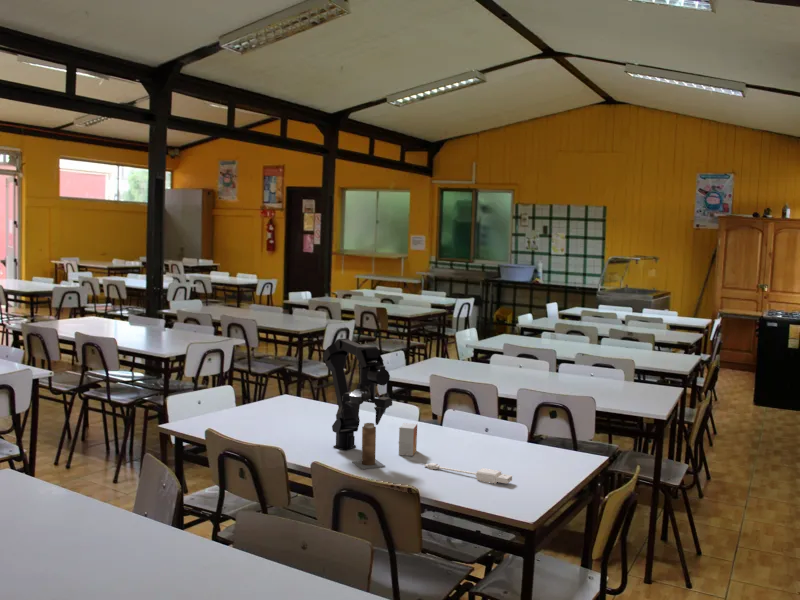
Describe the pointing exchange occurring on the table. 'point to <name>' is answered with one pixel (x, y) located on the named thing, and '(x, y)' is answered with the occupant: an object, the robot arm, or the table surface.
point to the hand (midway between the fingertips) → (366, 422)
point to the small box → (407, 439)
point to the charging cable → (480, 474)
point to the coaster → (361, 466)
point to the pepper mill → (368, 444)
